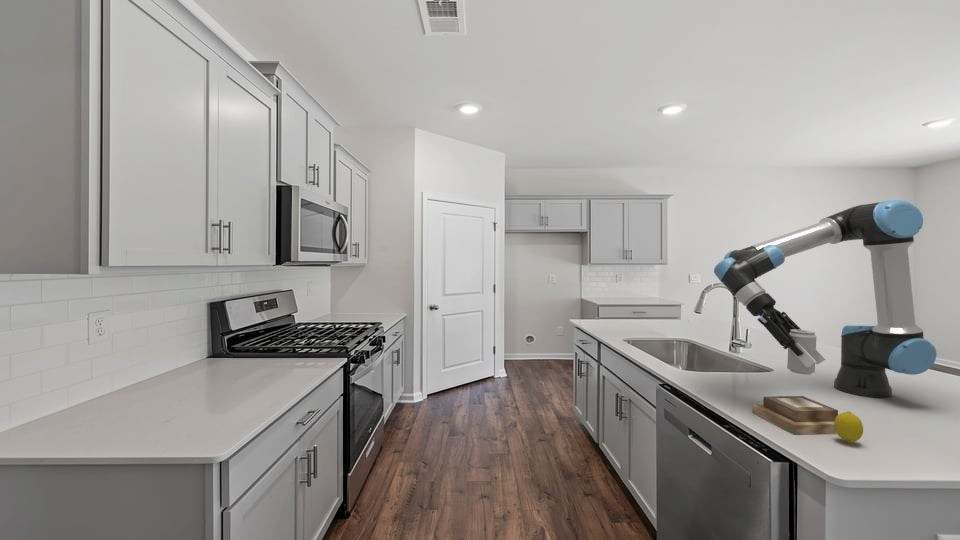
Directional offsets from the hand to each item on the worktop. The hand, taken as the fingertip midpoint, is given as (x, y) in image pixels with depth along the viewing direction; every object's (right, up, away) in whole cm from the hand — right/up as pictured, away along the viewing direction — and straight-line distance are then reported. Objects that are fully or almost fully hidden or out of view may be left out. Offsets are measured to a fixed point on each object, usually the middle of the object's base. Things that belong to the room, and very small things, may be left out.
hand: (816, 363), depth 120 cm
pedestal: (-4, -17, +1) cm, 18 cm away
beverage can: (-2, -3, +3) cm, 5 cm away
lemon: (-2, -18, -12) cm, 21 cm away
